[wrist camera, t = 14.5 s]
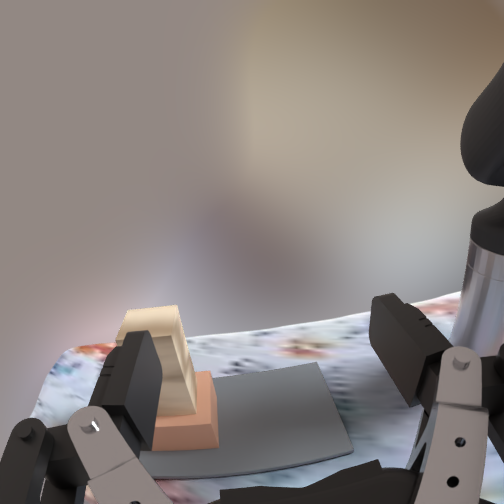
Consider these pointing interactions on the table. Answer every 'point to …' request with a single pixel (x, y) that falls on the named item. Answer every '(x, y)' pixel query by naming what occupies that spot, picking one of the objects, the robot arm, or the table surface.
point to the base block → (191, 422)
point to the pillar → (167, 357)
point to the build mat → (262, 427)
